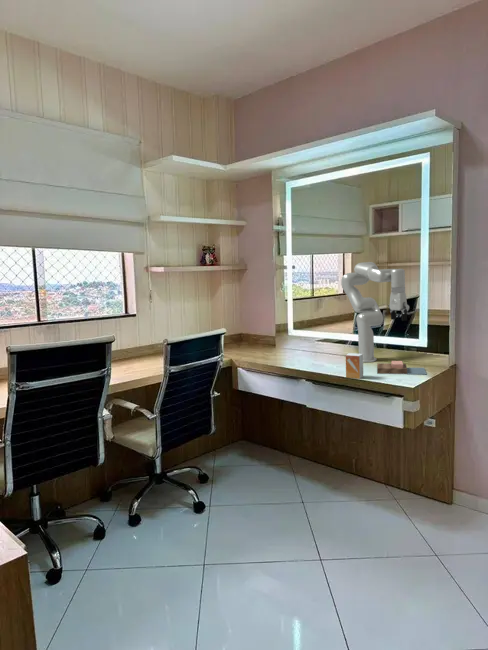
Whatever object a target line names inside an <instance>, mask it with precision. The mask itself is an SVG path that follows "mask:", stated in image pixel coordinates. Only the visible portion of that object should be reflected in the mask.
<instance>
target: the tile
mask: <svg viewBox="0 0 488 650" xmlns="http://www.w3.org/2000/svg"><path fill="white" fill-rule="evenodd" d="M390 364H392V368H403V364H404V363H403V361H402V360H391V363H390Z"/></svg>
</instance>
